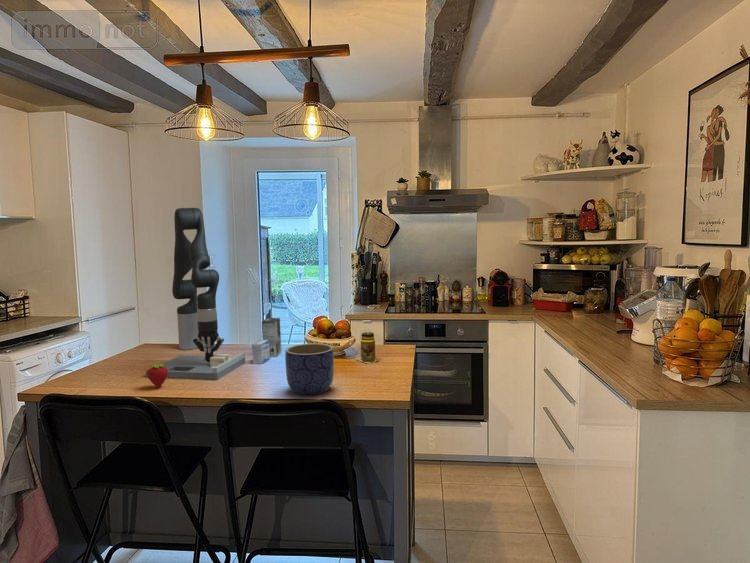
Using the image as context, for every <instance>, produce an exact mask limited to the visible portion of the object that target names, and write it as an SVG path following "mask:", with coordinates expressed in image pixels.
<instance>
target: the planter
mask: <svg viewBox="0 0 750 563" xmlns="http://www.w3.org/2000/svg"><path fill="white" fill-rule="evenodd" d="M284 351H285V353H284V354H285V355H284V356H285V357H284V358H285V374H286V376H285V377H286V381H287V385H288V386H289V388H290V389H291V391H293V392H294V393H295V394H296V393H297V394H298V393H299V395H302V394H314V395H319V394H322V393H325V392H326V391H327V390H329V388H330V387H331V386H332V383H333V381H334V376H335V375H334V374H335V373H334V372H335V358H334V347H333V346H332V345H330V344H326V343H319V342H318V343H316V342H315V343H314V342H313V343H310V342H307V343H301V344H295V345H291V346H289V347H287V348H286V349H285V350H284Z"/></svg>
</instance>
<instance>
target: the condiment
mask: <svg viewBox="0 0 750 563" xmlns="http://www.w3.org/2000/svg"><path fill="white" fill-rule="evenodd" d="M360 356H361V358H360V359H361V360H362V361H363V362H373V363H375V362H374V361H375V359H376V340H375V334H374V332H362V333H361V339H360Z"/></svg>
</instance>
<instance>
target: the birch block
mask: <svg viewBox="0 0 750 563" xmlns="http://www.w3.org/2000/svg"><path fill="white" fill-rule="evenodd" d="M231 357H232V354H230V353H229V354H227V353H226V354H224V353H217V354H215V355H213V357H211V358H210V367H216V366H218V365H220V364H222V363H223V362H225V361H227V360H229V359H231Z"/></svg>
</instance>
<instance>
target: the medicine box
mask: <svg viewBox="0 0 750 563" xmlns="http://www.w3.org/2000/svg"><path fill="white" fill-rule="evenodd" d="M251 351H252V364H254V365H255V364H256V365H263V364H265V363H266V362H268V361H270V360H271V357H270V351H269V340H263V339H260V340H258V341H256V342H254V343H251Z"/></svg>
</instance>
